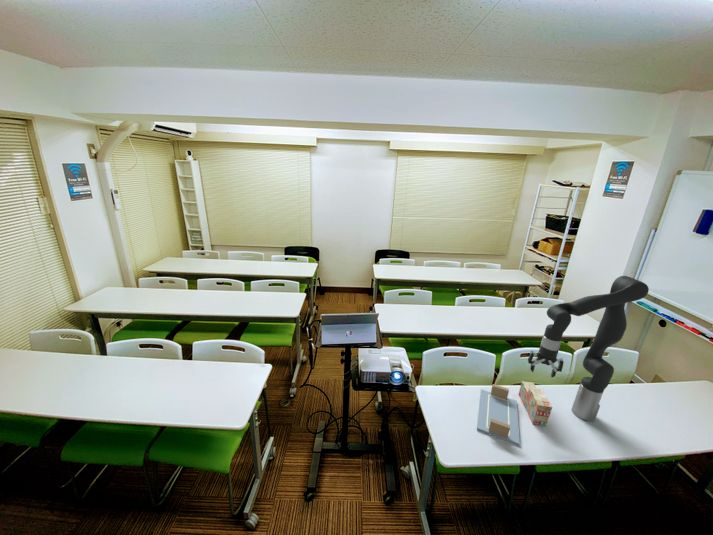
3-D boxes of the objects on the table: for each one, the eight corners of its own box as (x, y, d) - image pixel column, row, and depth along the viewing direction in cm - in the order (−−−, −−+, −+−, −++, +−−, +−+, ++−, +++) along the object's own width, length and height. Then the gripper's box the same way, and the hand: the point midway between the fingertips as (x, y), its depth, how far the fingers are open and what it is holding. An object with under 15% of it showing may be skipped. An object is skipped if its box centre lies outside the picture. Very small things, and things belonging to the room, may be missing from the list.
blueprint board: (516, 402, 156) (519, 391, 154) (519, 445, 130) (522, 433, 128) (480, 390, 163) (483, 380, 161) (476, 429, 138) (479, 417, 135)
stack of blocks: (517, 394, 162) (522, 376, 159) (529, 396, 161) (535, 378, 158) (532, 424, 142) (538, 404, 139) (546, 427, 141) (552, 407, 138)
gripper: (565, 346, 140) (557, 374, 145) (532, 338, 146) (525, 365, 151) (569, 354, 134) (559, 382, 139) (533, 345, 140) (526, 373, 144)
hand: (541, 373), depth 145 cm, fingers open, 8 cm apart
